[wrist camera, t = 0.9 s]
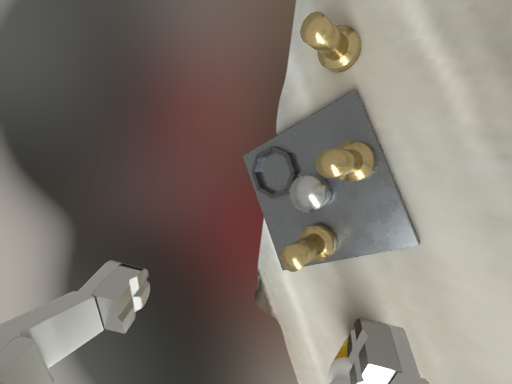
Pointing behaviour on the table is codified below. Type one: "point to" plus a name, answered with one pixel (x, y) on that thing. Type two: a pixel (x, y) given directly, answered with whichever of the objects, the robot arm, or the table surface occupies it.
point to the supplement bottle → (340, 367)
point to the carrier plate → (349, 200)
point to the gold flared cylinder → (331, 42)
